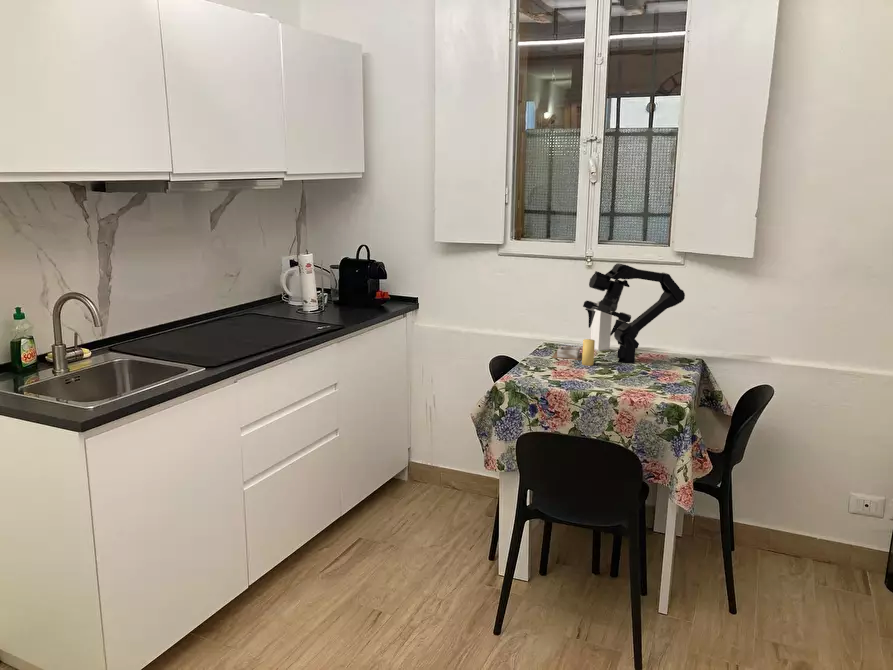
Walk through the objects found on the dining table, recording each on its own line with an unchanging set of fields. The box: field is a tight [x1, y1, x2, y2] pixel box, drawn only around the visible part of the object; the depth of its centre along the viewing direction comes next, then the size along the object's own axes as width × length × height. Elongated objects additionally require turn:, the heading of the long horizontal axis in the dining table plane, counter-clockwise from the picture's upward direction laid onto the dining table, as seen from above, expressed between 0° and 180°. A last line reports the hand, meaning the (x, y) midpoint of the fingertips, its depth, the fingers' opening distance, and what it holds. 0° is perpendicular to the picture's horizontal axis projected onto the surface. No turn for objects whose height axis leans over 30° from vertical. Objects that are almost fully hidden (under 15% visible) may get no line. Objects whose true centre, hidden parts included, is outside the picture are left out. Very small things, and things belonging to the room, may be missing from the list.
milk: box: [590, 300, 613, 351], centre depth 303 cm, size 6×6×22 cm
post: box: [581, 338, 595, 367], centre depth 276 cm, size 4×4×11 cm
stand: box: [551, 345, 582, 361], centre depth 290 cm, size 12×12×4 cm
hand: (599, 331), depth 285 cm, fingers open, 9 cm apart
